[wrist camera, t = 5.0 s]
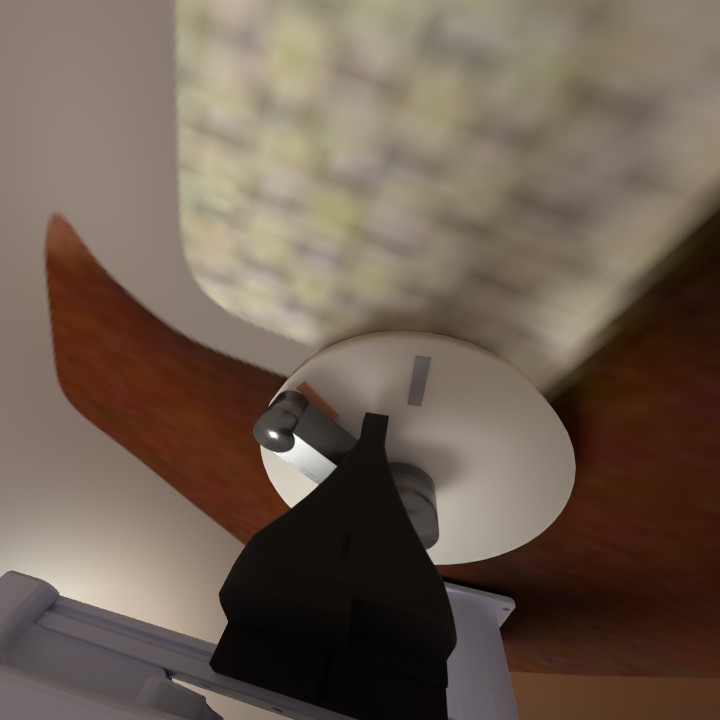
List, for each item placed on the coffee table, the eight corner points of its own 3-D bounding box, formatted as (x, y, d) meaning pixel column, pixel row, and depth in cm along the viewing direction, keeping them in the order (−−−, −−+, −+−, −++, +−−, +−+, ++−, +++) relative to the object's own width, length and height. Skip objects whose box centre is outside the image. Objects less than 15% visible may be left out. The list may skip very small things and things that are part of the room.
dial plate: (503, 561, 18) (510, 589, 17) (284, 512, 20) (274, 534, 19) (625, 354, 11) (658, 374, 9) (256, 312, 13) (236, 323, 11)
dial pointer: (450, 492, 13) (457, 538, 11) (399, 517, 15) (397, 560, 13) (300, 370, 11) (277, 399, 10) (261, 413, 13) (234, 445, 11)
